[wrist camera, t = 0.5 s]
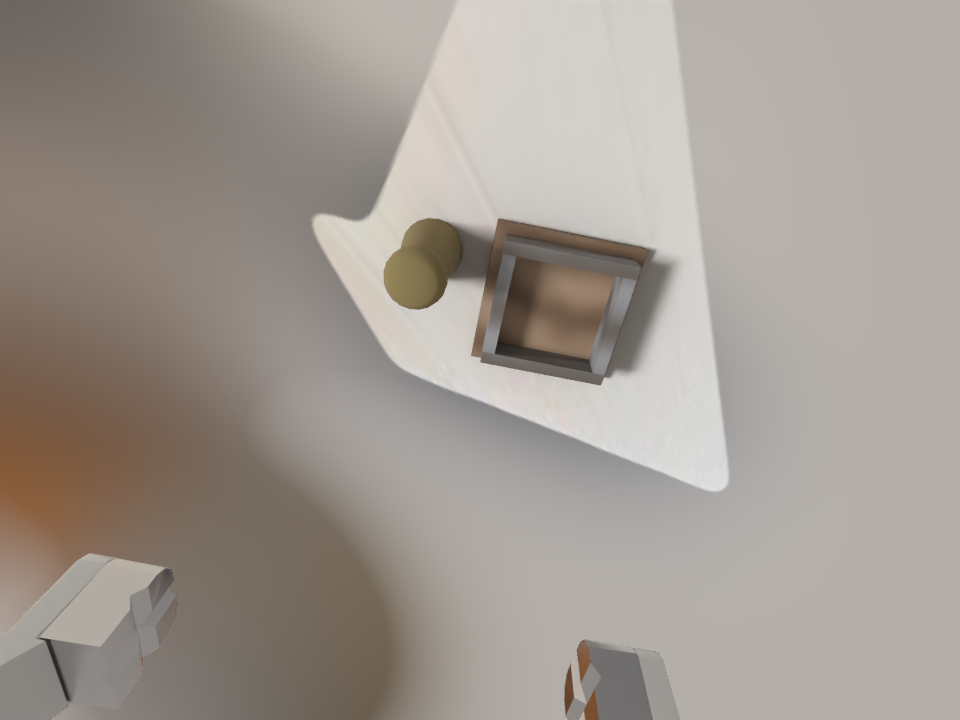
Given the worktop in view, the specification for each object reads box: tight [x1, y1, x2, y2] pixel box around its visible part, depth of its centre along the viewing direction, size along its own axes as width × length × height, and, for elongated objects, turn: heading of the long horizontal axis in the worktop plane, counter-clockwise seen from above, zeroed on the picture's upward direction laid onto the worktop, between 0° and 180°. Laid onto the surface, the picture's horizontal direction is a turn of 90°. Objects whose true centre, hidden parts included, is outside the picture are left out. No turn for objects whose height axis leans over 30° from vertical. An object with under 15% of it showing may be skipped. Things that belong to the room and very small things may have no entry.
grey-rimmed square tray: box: [471, 219, 648, 385], centre depth 48 cm, size 14×14×4 cm
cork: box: [384, 218, 463, 310], centre depth 43 cm, size 6×6×11 cm
